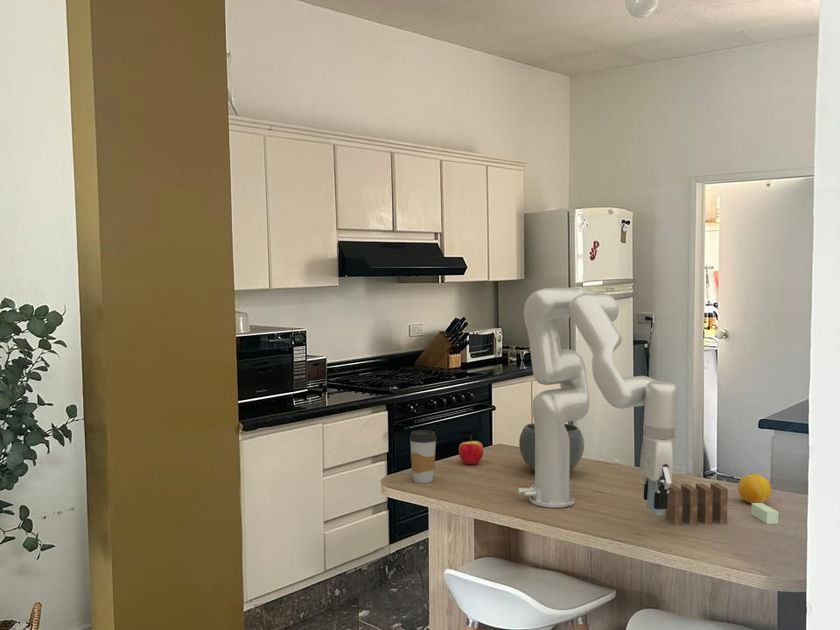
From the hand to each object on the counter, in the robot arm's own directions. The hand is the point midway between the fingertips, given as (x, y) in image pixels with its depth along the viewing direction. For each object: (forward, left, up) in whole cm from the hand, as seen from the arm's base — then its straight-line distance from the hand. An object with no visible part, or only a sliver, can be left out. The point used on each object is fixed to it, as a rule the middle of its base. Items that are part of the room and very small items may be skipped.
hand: (655, 503), depth 197 cm
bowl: (-10, +61, -8) cm, 62 cm away
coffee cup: (-52, +55, -8) cm, 76 cm away
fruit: (+38, +23, -8) cm, 45 cm away
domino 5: (+21, +9, -8) cm, 24 cm away
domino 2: (+9, +9, -8) cm, 15 cm away
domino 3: (+13, +9, -8) cm, 17 cm away
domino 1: (0, 0, -2) cm, 2 cm away
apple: (-34, +75, -8) cm, 83 cm away
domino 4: (+17, +9, -8) cm, 20 cm away
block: (+33, +9, -8) cm, 35 cm away
